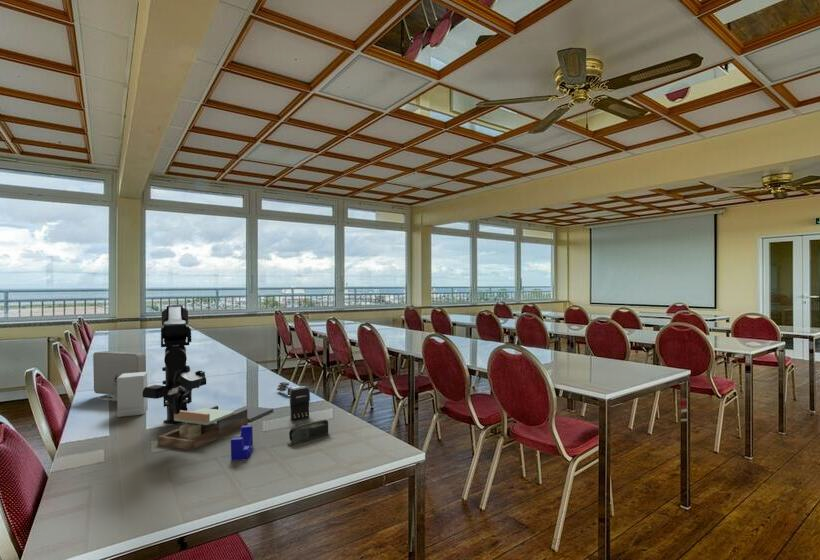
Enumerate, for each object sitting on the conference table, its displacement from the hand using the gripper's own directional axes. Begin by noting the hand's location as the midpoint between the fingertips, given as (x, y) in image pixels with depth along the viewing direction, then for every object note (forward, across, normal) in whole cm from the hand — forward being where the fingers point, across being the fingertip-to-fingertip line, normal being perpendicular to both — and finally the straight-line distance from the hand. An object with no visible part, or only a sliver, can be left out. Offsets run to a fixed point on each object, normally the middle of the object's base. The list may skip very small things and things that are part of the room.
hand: (176, 413), depth 138 cm
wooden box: (+10, +11, 0) cm, 15 cm away
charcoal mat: (+10, +32, +1) cm, 34 cm away
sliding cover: (+4, +11, 0) cm, 12 cm away
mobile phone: (+10, +18, -35) cm, 41 cm away
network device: (+10, +35, +73) cm, 81 cm away
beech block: (+10, +5, 0) cm, 11 cm away
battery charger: (+10, +34, -21) cm, 42 cm away
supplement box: (+10, +20, +46) cm, 51 cm away
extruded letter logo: (+10, +59, 0) cm, 60 cm away
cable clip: (+10, +3, -23) cm, 26 cm away
